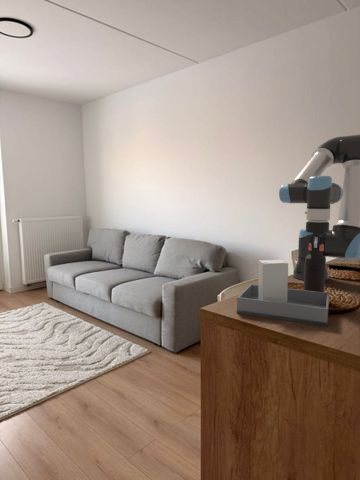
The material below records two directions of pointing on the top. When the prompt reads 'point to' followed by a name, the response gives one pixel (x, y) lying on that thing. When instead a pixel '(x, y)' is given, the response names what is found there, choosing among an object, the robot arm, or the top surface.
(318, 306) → the tray
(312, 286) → the vinegar
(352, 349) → the top surface
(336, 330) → the top surface
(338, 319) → the top surface
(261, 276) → the skincare box
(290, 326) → the top surface
